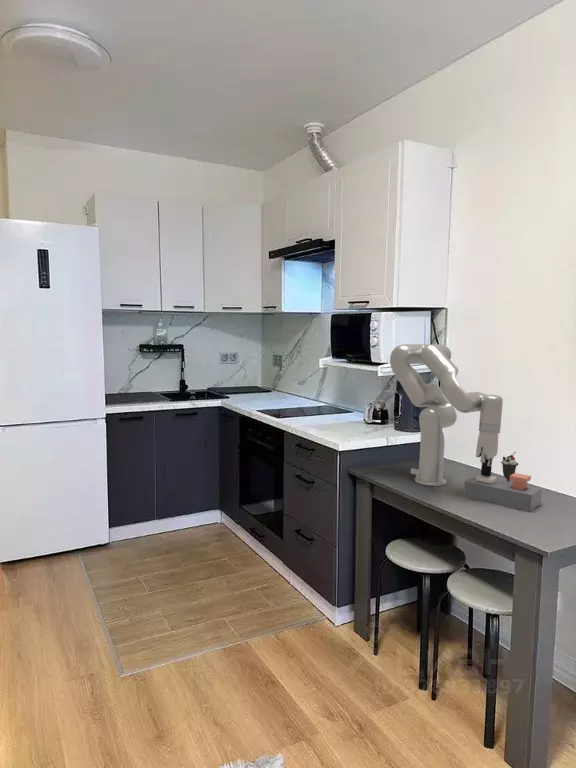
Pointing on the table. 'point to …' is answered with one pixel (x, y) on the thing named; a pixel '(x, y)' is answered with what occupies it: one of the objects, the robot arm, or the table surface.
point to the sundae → (509, 466)
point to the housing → (503, 494)
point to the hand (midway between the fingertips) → (485, 475)
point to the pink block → (519, 481)
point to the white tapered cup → (486, 479)
